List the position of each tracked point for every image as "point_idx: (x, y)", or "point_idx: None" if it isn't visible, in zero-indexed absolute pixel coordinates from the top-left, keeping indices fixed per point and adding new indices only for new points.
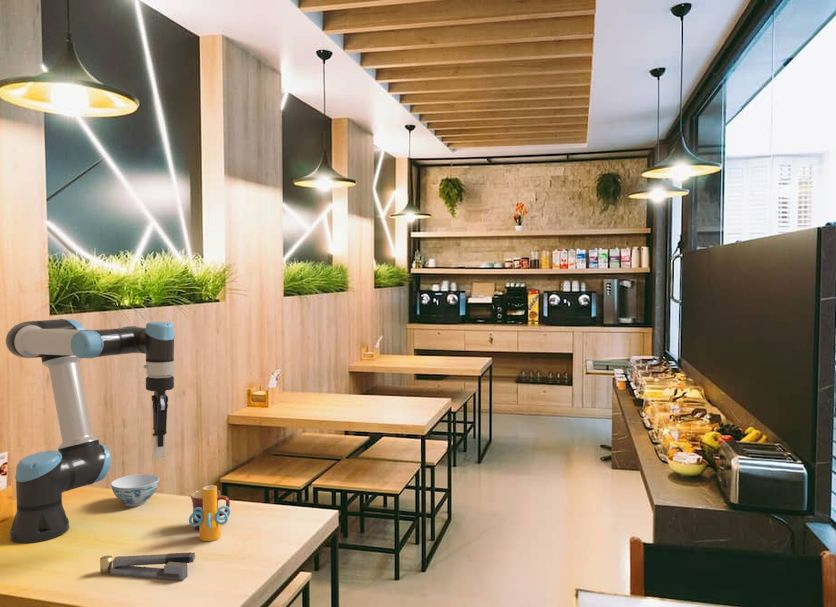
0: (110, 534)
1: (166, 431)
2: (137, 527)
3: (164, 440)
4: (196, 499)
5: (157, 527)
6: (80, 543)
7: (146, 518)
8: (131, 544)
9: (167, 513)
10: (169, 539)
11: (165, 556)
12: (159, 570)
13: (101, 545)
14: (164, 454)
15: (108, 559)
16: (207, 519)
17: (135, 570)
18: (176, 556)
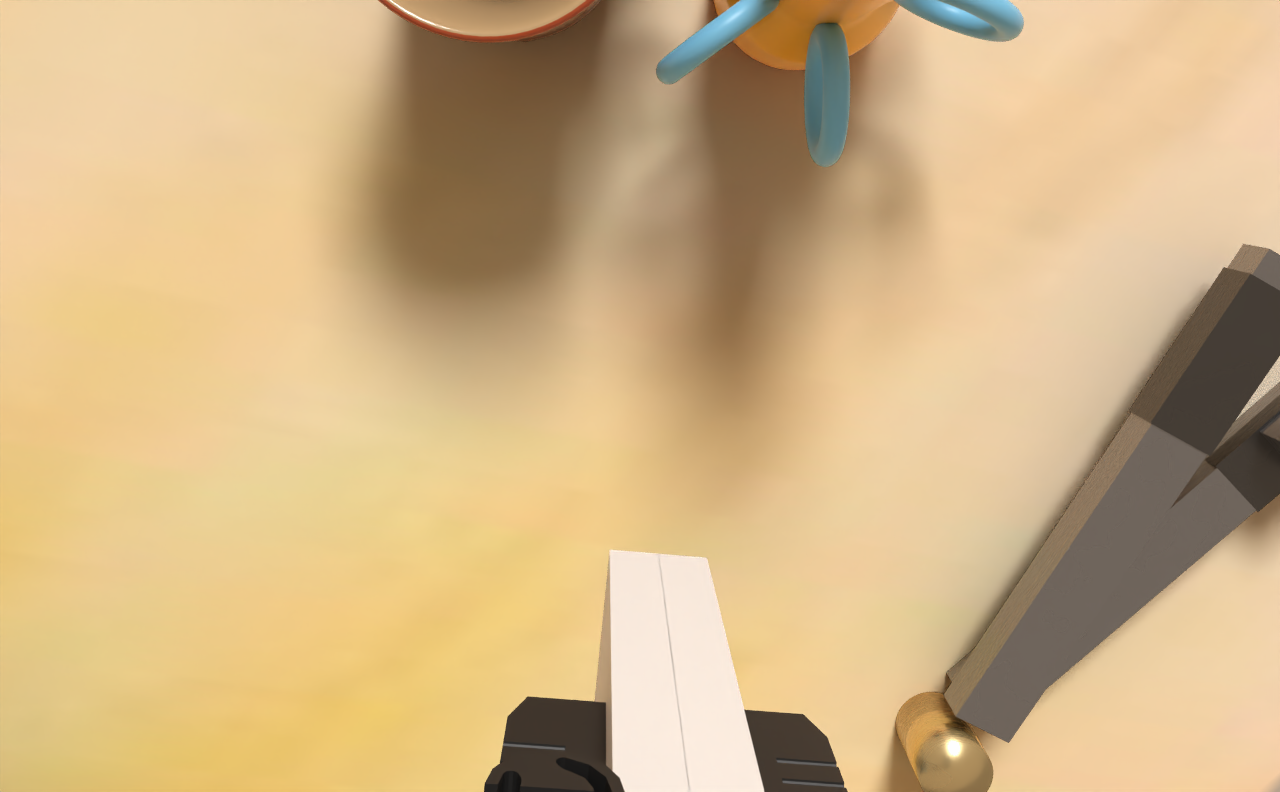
0: (284, 604)
1: (617, 781)
2: (240, 418)
3: (748, 736)
4: (586, 7)
5: (323, 288)
6: (349, 786)
7: (64, 316)
8: (565, 518)
9: (22, 136)
10: (632, 270)
11: (1186, 447)
12: (1236, 489)
13: (464, 683)
14: (711, 585)
15: (991, 766)
16: (1012, 33)
17: (1127, 611)
18: (1245, 383)
